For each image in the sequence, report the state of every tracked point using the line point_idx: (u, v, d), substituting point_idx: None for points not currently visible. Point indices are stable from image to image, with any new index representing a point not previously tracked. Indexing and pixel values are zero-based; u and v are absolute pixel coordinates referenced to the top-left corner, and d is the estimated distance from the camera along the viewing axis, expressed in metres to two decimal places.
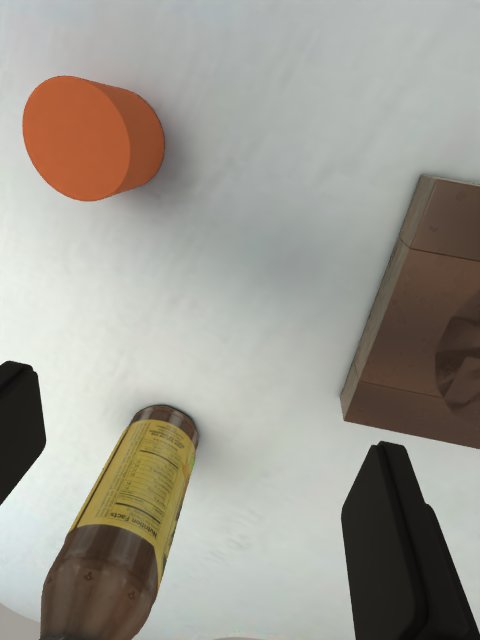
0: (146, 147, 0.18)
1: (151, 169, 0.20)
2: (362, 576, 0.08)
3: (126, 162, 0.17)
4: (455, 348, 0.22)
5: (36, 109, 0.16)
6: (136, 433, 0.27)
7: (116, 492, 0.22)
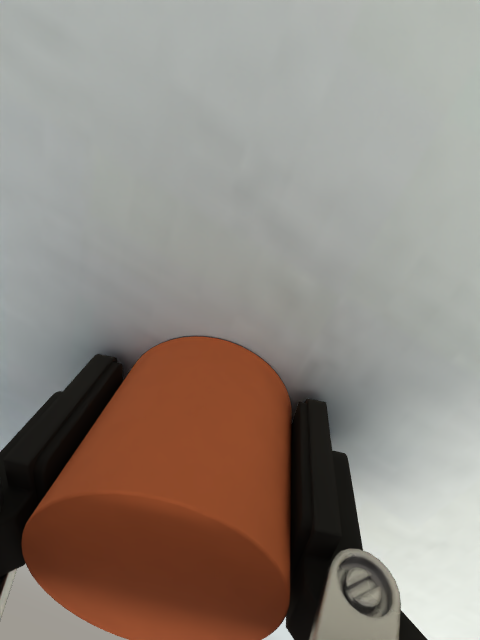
0: (184, 409, 0.07)
1: (247, 385, 0.09)
2: None
3: (185, 512, 0.06)
4: None
5: (98, 616, 0.08)
6: None
7: None
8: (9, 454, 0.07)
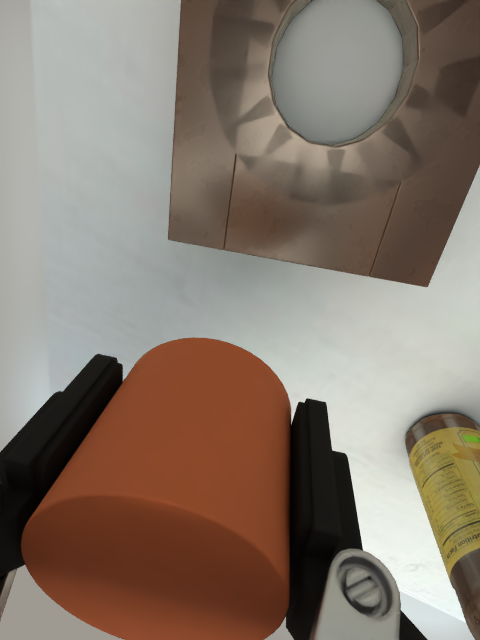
0: (183, 410, 0.07)
1: (247, 386, 0.09)
2: None
3: (184, 513, 0.06)
4: (329, 185, 0.20)
5: (98, 617, 0.08)
6: (414, 477, 0.27)
7: (438, 537, 0.23)
8: (9, 454, 0.07)
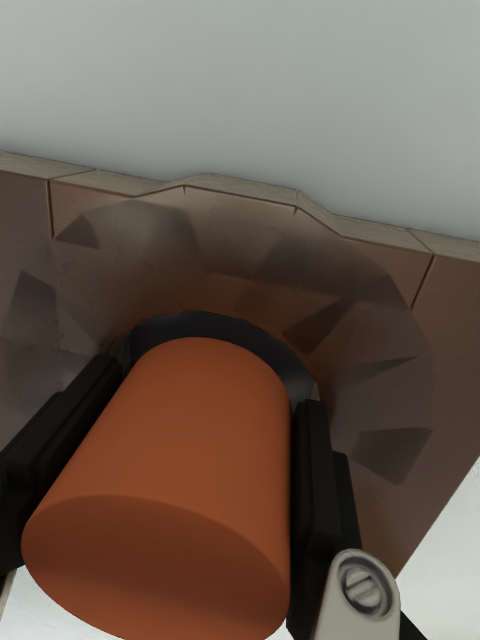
0: (184, 410, 0.07)
1: (247, 385, 0.09)
2: None
3: (185, 512, 0.06)
4: None
5: (98, 617, 0.08)
6: None
7: None
8: (9, 454, 0.07)
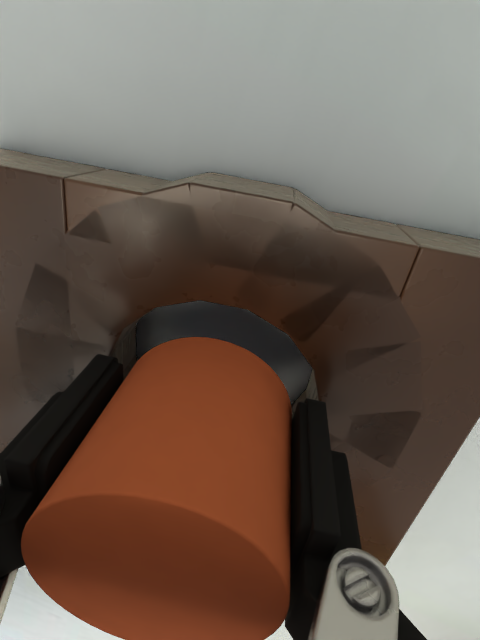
0: (184, 410, 0.07)
1: (247, 385, 0.09)
2: None
3: (185, 513, 0.06)
4: None
5: (98, 617, 0.08)
6: None
7: None
8: (11, 454, 0.07)
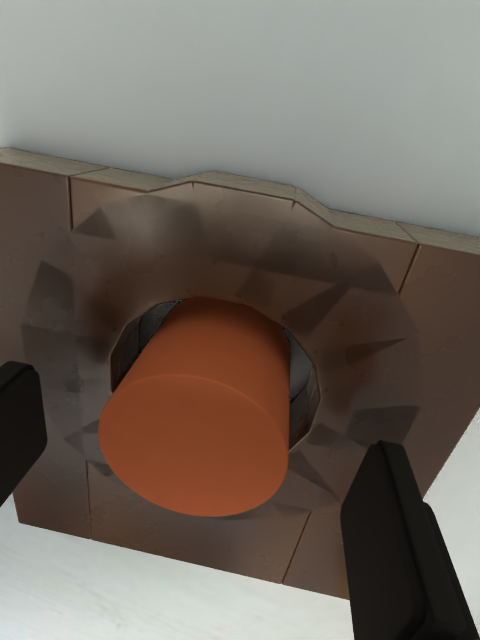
0: (211, 334, 0.10)
1: (256, 324, 0.12)
2: (361, 574, 0.08)
3: (218, 387, 0.09)
4: None
5: (148, 488, 0.11)
6: None
7: None
8: None
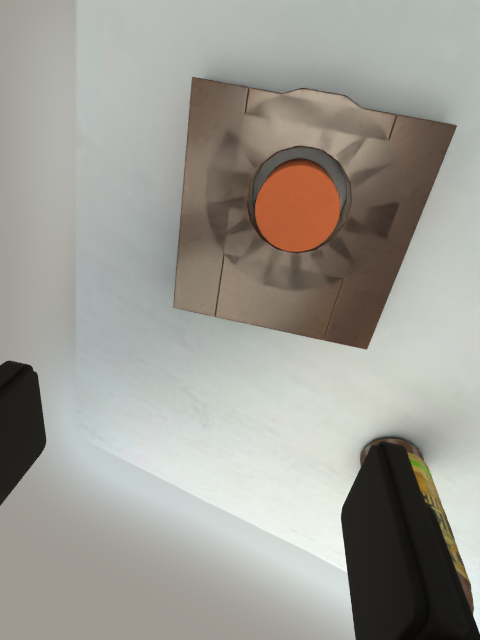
0: (304, 162, 0.23)
1: (321, 167, 0.24)
2: (362, 576, 0.08)
3: (314, 170, 0.21)
4: (292, 278, 0.27)
5: (273, 235, 0.23)
6: None
7: None
8: None
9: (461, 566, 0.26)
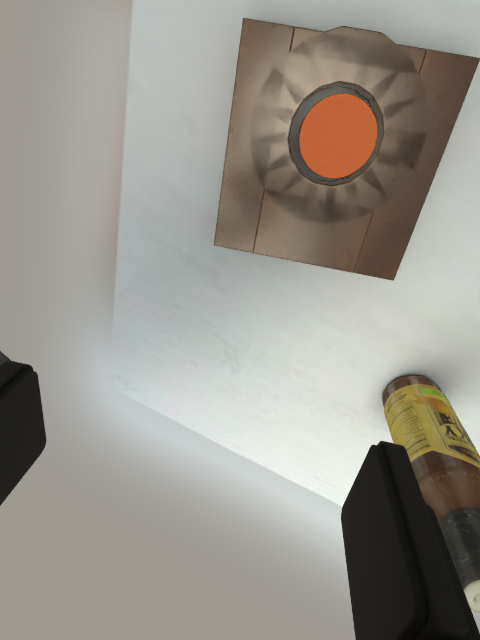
0: None
1: None
2: (362, 576, 0.08)
3: (354, 98, 0.24)
4: (326, 211, 0.30)
5: (315, 162, 0.26)
6: (387, 421, 0.37)
7: None
8: None
9: None
